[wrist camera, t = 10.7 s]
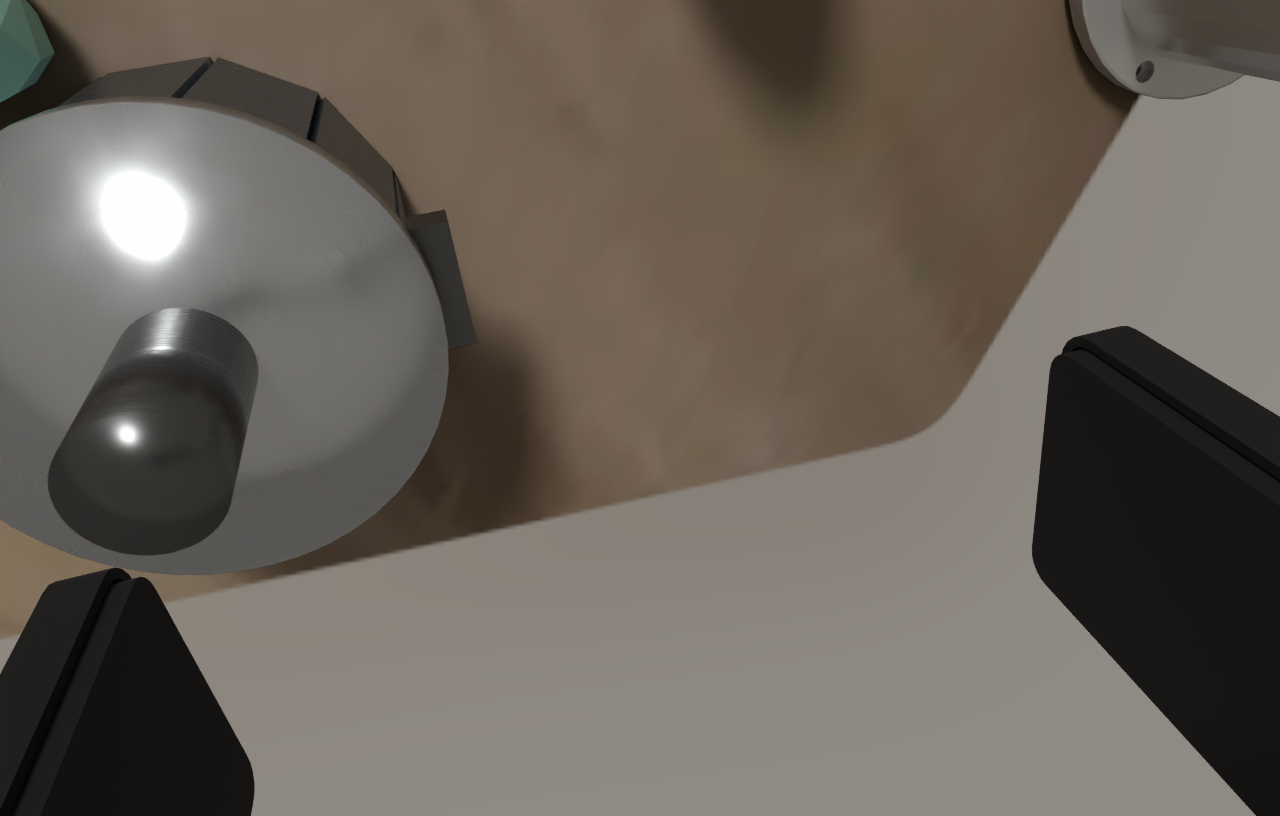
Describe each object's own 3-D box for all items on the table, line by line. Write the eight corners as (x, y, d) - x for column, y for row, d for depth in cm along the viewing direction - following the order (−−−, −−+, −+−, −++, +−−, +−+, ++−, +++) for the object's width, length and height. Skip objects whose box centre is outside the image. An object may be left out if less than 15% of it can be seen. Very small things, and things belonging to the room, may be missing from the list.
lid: (376, 50, 24) (380, 102, 18) (489, 492, 31) (518, 634, 25) (-232, 154, 21) (-461, 253, 15) (42, 604, 28) (-43, 790, 23)
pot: (400, 25, 32) (411, 66, 24) (479, 359, 38) (508, 474, 31) (-103, 108, 29) (-269, 183, 21) (75, 450, 36) (-2, 600, 28)
